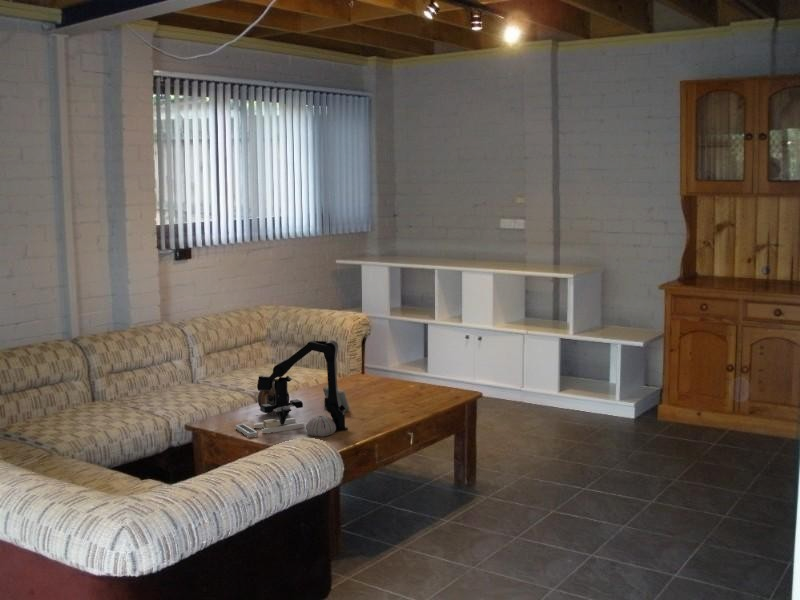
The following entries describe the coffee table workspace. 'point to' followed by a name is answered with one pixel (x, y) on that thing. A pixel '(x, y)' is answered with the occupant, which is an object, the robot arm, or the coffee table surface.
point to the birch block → (270, 423)
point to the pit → (251, 432)
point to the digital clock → (342, 398)
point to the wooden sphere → (263, 398)
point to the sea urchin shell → (321, 426)
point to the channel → (280, 428)
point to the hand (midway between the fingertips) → (282, 424)
